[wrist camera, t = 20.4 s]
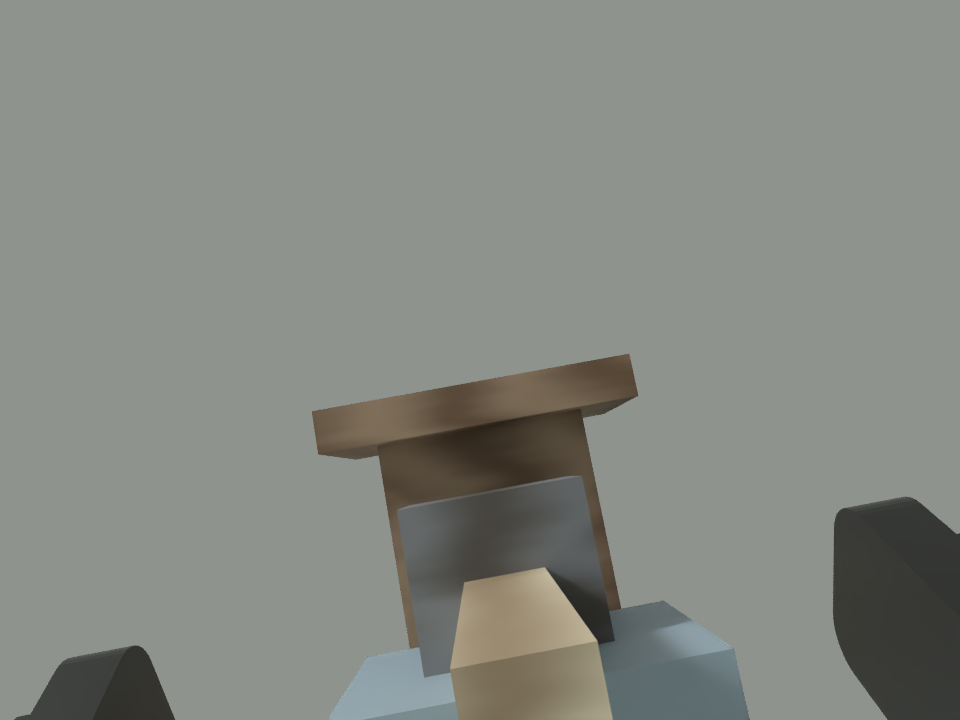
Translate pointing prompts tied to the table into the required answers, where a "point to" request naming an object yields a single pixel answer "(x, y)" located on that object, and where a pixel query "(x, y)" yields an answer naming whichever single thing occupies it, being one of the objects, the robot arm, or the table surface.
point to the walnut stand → (482, 442)
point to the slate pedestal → (626, 665)
